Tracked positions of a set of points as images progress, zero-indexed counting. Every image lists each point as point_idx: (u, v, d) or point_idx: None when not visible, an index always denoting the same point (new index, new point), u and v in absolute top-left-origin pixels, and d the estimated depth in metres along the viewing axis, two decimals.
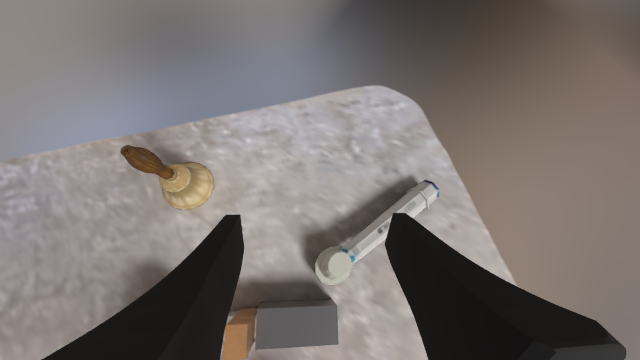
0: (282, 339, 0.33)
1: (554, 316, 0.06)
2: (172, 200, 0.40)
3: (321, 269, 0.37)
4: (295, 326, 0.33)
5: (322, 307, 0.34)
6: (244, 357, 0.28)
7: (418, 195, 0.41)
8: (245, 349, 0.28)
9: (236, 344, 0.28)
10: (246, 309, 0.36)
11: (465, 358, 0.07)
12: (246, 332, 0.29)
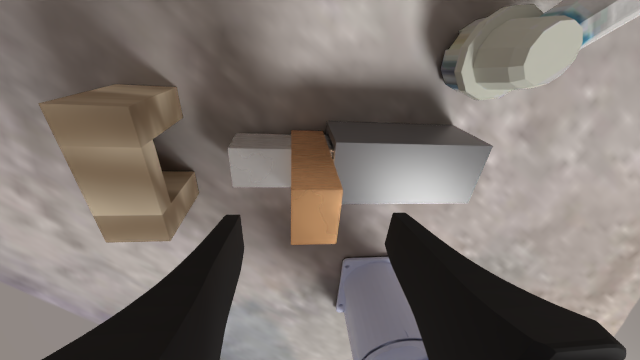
0: (378, 193, 0.18)
1: (554, 317, 0.06)
2: None
3: (481, 63, 0.15)
4: (404, 175, 0.17)
5: (464, 148, 0.17)
6: (333, 241, 0.14)
7: None
8: (335, 230, 0.13)
9: (317, 223, 0.13)
10: (302, 134, 0.19)
11: (465, 358, 0.07)
12: (339, 204, 0.12)
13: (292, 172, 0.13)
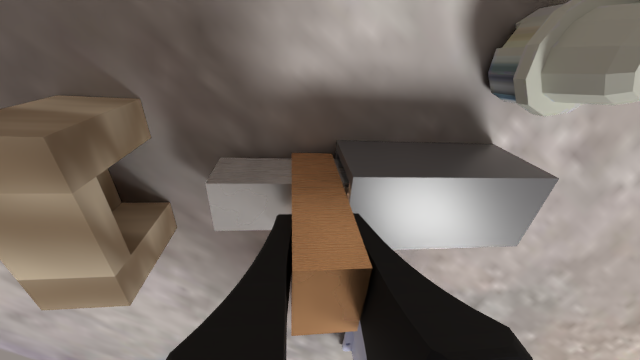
0: (405, 237, 0.14)
1: (466, 323, 0.06)
2: None
3: (557, 66, 0.11)
4: (440, 215, 0.13)
5: (522, 181, 0.13)
6: (353, 329, 0.09)
7: None
8: (357, 316, 0.09)
9: (331, 309, 0.09)
10: (306, 159, 0.14)
11: None
12: (364, 285, 0.08)
13: (293, 231, 0.09)
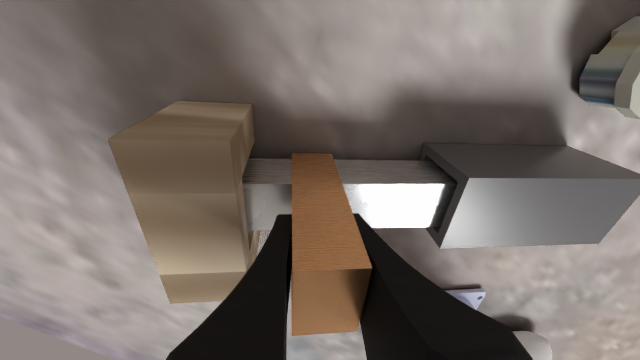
0: (500, 234, 0.14)
1: (466, 323, 0.06)
2: None
3: None
4: (538, 214, 0.14)
5: (619, 182, 0.13)
6: (353, 329, 0.09)
7: None
8: (357, 316, 0.09)
9: (331, 309, 0.09)
10: (306, 159, 0.14)
11: None
12: (364, 285, 0.08)
13: (293, 231, 0.09)
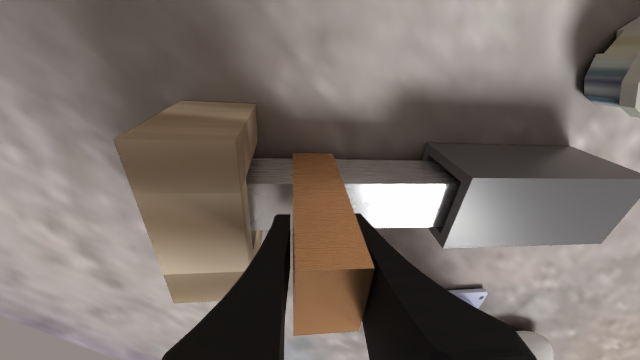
0: (503, 234, 0.15)
1: (470, 323, 0.06)
2: None
3: None
4: (540, 214, 0.14)
5: (622, 182, 0.13)
6: (355, 329, 0.09)
7: None
8: (359, 316, 0.09)
9: (333, 309, 0.09)
10: (307, 159, 0.14)
11: None
12: (366, 285, 0.08)
13: (295, 231, 0.09)
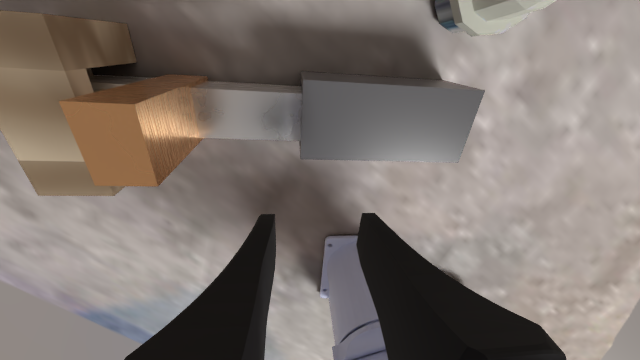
0: (355, 146, 0.16)
1: (497, 321, 0.06)
2: None
3: None
4: (384, 124, 0.15)
5: (452, 92, 0.15)
6: (153, 183, 0.11)
7: None
8: (150, 167, 0.10)
9: (118, 154, 0.10)
10: (176, 76, 0.16)
11: None
12: (138, 127, 0.10)
13: (95, 92, 0.10)
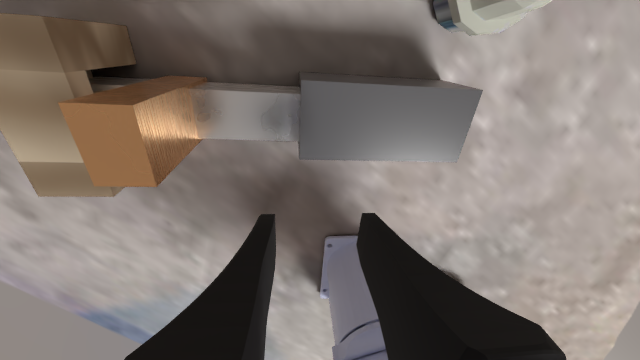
0: (354, 146, 0.16)
1: (497, 321, 0.06)
2: None
3: None
4: (383, 124, 0.15)
5: (450, 91, 0.15)
6: (151, 183, 0.11)
7: None
8: (148, 167, 0.10)
9: (117, 155, 0.10)
10: (175, 77, 0.16)
11: None
12: (137, 128, 0.10)
13: (94, 93, 0.10)
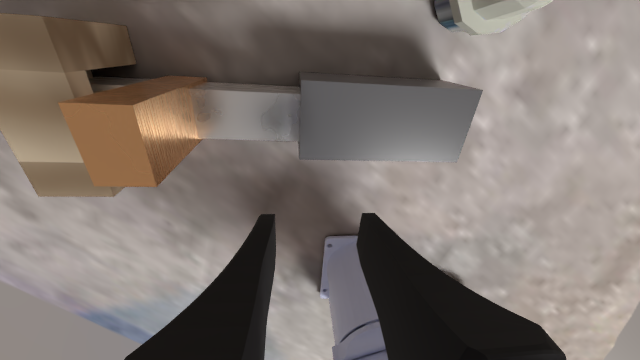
0: (354, 146, 0.16)
1: (497, 321, 0.06)
2: None
3: None
4: (383, 124, 0.15)
5: (450, 91, 0.15)
6: (151, 183, 0.11)
7: None
8: (148, 167, 0.10)
9: (117, 155, 0.10)
10: (175, 77, 0.16)
11: None
12: (137, 128, 0.10)
13: (94, 93, 0.10)
